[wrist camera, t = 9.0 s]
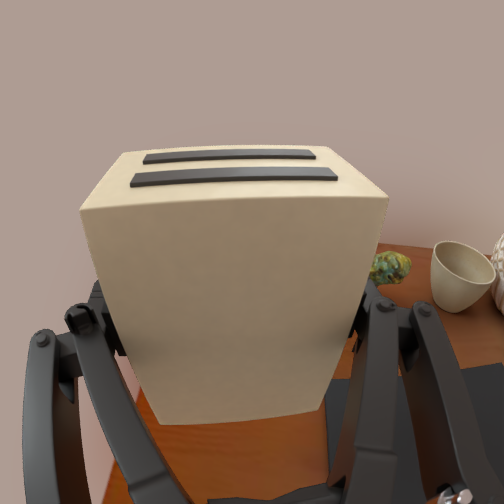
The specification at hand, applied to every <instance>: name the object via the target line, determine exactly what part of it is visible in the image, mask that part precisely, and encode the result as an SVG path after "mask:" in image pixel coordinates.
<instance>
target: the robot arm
mask: <svg viewBox="0 0 504 504" xmlns="http://www.w3.org/2000/svg"><path fill="white" fill-rule="evenodd" d="M65 322H66V324H67V325H68V328H69V330H70V332H67V333H64V334H60V335H55V333H54V332H53V331H52V330H50V329H43V330H40V331H38V332H37V333H35V334H34V335H33V337H32V338H31V341H30V346H29V352H28V361H27V368H26V377H25V388H24V401H23V425H22V426H23V427H22V429H23V430H22V449H23V472H24V485H25V495H26V503H27V504H92V503H91V499H90V493H89V488H88V483H87V476H86V470H85V463H84V457H83V448H82V439H81V428H80V417H79V400H78V377H80V376H84V380H85V383H86V386H87V389H88V392H89V395H90V397H91V401H92V403H93V406H94V409H95V412H96V414H97V417H98V420H99V422H100V425H101V427H102V430H103V432H104V434H105V437H106V439H107V442H108V444H109V446H110V448H111V451H112V453H113V455H114V457H115V459H116V462H117V464H118V466H119V468H120V470H121V472H122V474H123V476H124V478H125V480H126V482H127V484H128V492H129V495H130V497H131V499H132V501H133V503H134V504H194V502H193V501H192V499H191V498H190V497H189V495H188V494H187V492H186V491H185V490H184V488H183V487H182V485H181V484H180V482H179V481H178V479H177V478H176V476H175V474H174V473H173V471H172V470H171V468H170V466H169V465H168V463H167V461H166V460H165V458H164V456H163V454H162V453H161V451H160V449H159V448H158V446H157V444H156V442H155V440H154V439H153V437H152V435H151V433H150V431H149V429H148V427H147V426H146V424H145V422H144V420H143V418H142V416H141V414H140V412H139V410H138V408H137V406H136V404H135V402H134V400H133V398H132V395H131V393H130V391H129V389H128V387H127V385H126V382H125V380H124V378H123V376H122V373H121V371H120V369H119V367H118V364H117V362H116V360H115V358H114V355H115V350H117V352H118V355H119V356H127V355H126V352H125V350H124V348H123V345H122V343H121V340H120V338H119V335H118V333H117V330H116V328H115V325H114V323H113V320H112V317H111V315H110V312H109V309H108V306H107V303H106V301H105V298H104V295H103V292H102V289H101V286H100V283H99V280H97V281H96V282H95V283H94V286H93V289H92V293H91V294H90V298H89V300H88V303H79V304H75V305H74V306H72V307H71V308H69V309H68V310H67V312H66V314H65ZM354 330H356V332H357V334H358V337H357V340H356V342H355V345H354V347H353V350H352V352H354V358H353V366H352V372H351V379H350V385H349V391H348V397H347V402H346V408H345V413H344V418H343V423H342V428H341V433H340V438H339V442H338V447H337V451H336V455H335V460H334V464H333V467H332V470H331V472H330V474H329V477H328V479H327V482H326V483H322V484H318V485H314V486H309V487H304V488H299V489H297V490H295V491H292V492H290V493H288V494H285V495H283V496H280V497H278V498H275V499H273V500H257V499H247V498H239V497H235V498H222V499H207V501H208V503H207V504H391V502H392V496H393V490H394V484H395V478H396V471H397V462H398V457H397V454H396V453H395V452H393V442H394V433H395V422H396V409H397V392H398V363H399V367H400V371H401V375H402V379H403V383H404V387H405V392H406V396H407V401H408V406H409V410H410V415H411V420H412V425H413V431H414V436H415V442H416V448H417V454H418V461H419V467H420V475H421V481H422V486H423V490H424V493H425V496H426V499H427V502H426V503H425V504H504V488H503V486H502V484H501V483H500V481H499V479H498V477H497V475H496V474H495V472H494V470H493V468H492V466H491V465H490V463H489V461H488V460H487V458H486V453H485V449H484V445H483V441H482V437H481V433H480V429H479V426H478V422H477V419H476V415H475V412H474V408H473V405H472V402H471V399H470V396H469V393H468V390H467V387H466V384H465V381H464V378H463V375H462V372H461V370H460V367H459V364H458V361H457V359H456V356H455V354H454V351H453V348H452V346H451V343H450V341H449V338H448V336H447V334H446V331H445V329H444V327H443V324H442V322H441V320H440V317H439V315H438V313H437V311H436V309H435V308H434V307H433V306H432V305H431V304H430V303H427V302H424V301H417V302H415V303H414V304H413V307H412V309H410V308H402V307H397V305H396V304H395V303H394V301H392V300H391V299H389V298H387V297H382V295H381V293H380V292H379V290H378V289H377V287H376V286H375V284H374V283H373V281H372V279H370V276H368V279H367V282H366V286H365V289H364V292H363V295H362V298H361V301H360V304H359V307H358V310H357V313H356V316H355V319H354V321H353V324H352V327H351V330H350V333H349V335H348V338H351V337H352V335H353V332H354Z"/></svg>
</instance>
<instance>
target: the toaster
mask: <svg viewBox="0 0 504 504" xmlns="http://www.w3.org/2000/svg"><path fill="white" fill-rule="evenodd" d="M388 202H389V197H388V196H387V195H386V194H385V193H384V192H383V191H382V190H380V189H379V188H378V187H377V186H376V185H375V184H373V183H372V182H371V181H370V180H368V179H367V178H366V177H365V176H364V175H362V174H361V173H360V172H359V171H358V170H356V169H355V168H354V167H353V166H352V165H350V164H349V163H348V162H346V161H345V160H344V159H343V158H341V157H340V156H339V155H338V154H336V153H335V152H334V151H332V150H331V149H330V148H328V147H322V146H321V147H319V146H294V145H292V146H291V145H228V146H202V147H201V146H200V147H183V148H169V149H156V150H145V151H135V152H126V153H123V154H122V155H121V156H120V157H119V158H118V159H117V161H116V162H115V163H114V165H112V167H111V168H110V169H109V170H108V172H107V173H106V174H105V176H104V177H103V178H102V179H101V181H100V182H99V183H98V185H97V186H96V187H95V189H94V190H93V191H92V193H91V194H90V195H89V197H88V198H87V199H86V201H85V202H84V204H83V205H82V206H81V208H80V210H79V212H80V216H81V220H82V224H83V228H84V232H85V236H86V239H87V243H88V247H89V250H90V253H91V257H92V260H93V264H94V267H95V270H96V274H97V277H98V280H99V283H100V286H101V289H102V292H103V295H104V298H105V301H106V303H107V306H108V309H109V312H110V315H111V317H112V320H113V323H114V325H115V328H116V330H117V333H118V335H119V338H120V340H121V343H122V345H123V348H124V350H125V352H126V355H127V357H128V359H129V362H130V364H131V366H132V369H133V370H134V373H135V375H136V377H137V380H138V382H139V384H140V386H141V388H142V390H143V392H144V394H145V396H146V398H147V400H148V402H149V404H150V406H151V408H152V410H153V412H154V414H155V416H156V418H157V420H158V422H159V424H160V425H184V424H209V423H224V422H236V421H247V420H256V419H265V418H272V417H280V416H286V415H293V414H299V413H305V412H310V411H316V410H318V409H319V406H320V404H321V402H322V400H323V397H324V395H325V393H326V390H327V388H328V386H329V383H330V381H331V379H332V376H333V374H334V371H335V369H336V366H337V364H338V361H339V359H340V356H341V354H342V351H343V349H344V346H345V343H346V341H347V338H348V335H349V333H350V330H351V327H352V324H353V321H354V319H355V316H356V313H357V310H358V307H359V304H360V301H361V298H362V295H363V292H364V289H365V286H366V282H367V279H368V276H369V273H370V269H371V266H372V263H373V259H374V256H375V252H376V249H377V245H378V241H379V237H380V234H381V230H382V226H383V222H384V218H385V214H386V210H387V206H388Z"/></svg>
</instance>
